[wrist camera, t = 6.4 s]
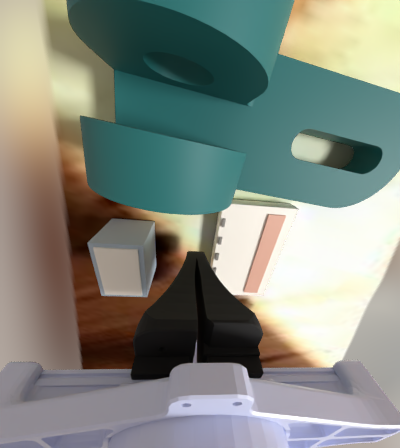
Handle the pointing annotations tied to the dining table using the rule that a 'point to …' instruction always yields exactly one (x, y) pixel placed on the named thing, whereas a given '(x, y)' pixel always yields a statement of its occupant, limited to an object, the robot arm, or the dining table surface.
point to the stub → (124, 257)
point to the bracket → (224, 109)
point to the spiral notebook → (250, 244)
